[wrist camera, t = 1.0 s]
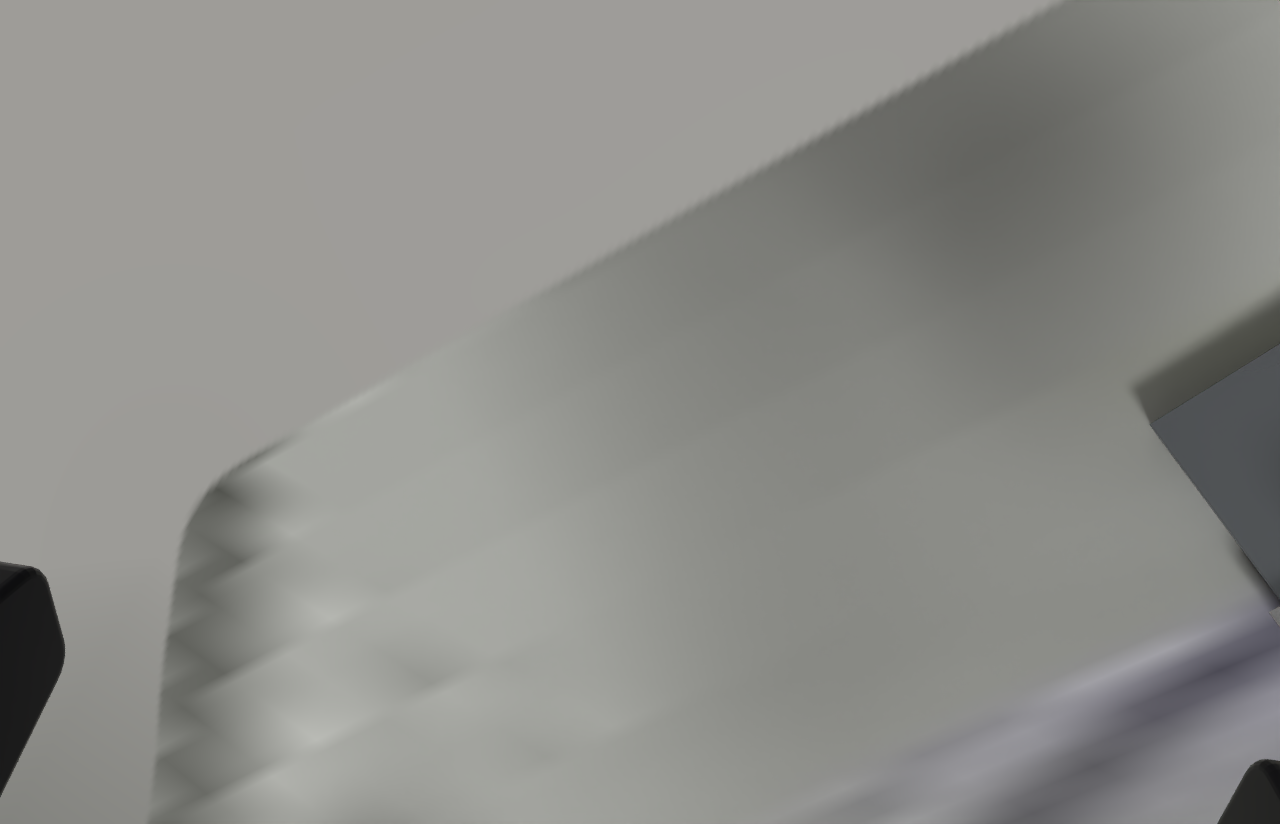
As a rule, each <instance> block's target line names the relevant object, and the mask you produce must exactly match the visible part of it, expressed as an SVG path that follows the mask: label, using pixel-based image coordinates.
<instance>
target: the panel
mask: <svg viewBox="0 0 1280 824" xmlns="http://www.w3.org/2000/svg"><path fill="white" fill-rule="evenodd" d="M1150 426H1151V427H1152V429H1153V430H1154V432H1155V433H1156V434H1157V436H1158V437H1159V438H1160V440H1161V441H1162V442H1163V444H1164V445H1165V447H1166V448H1167V449H1168V451H1169V452H1170V453H1171V455H1172V456H1173V457H1174V459H1175V460H1176V461H1177V463H1178V464H1179V465H1180V467H1181V468H1182V469H1183V471H1184V472H1185V473H1186V475H1187V476H1188V477H1189V479H1190V480H1191V481H1192V483H1193V484H1194V486H1195V487H1196V488H1197V490H1198V491H1199V492H1200V494H1201V495H1202V496H1203V498H1204V499H1205V500H1206V502H1207V503H1208V504H1209V506H1210V507H1211V508H1212V510H1213V511H1214V512H1215V514H1216V515H1217V516H1218V518H1219V519H1220V520H1221V522H1222V523H1223V524H1224V526H1225V527H1226V529H1227V530H1228V531H1229V533H1230V534H1231V535H1232V537H1233V538H1234V539H1235V541H1236V542H1237V543H1238V545H1239V546H1240V547H1241V549H1242V550H1243V551H1244V553H1245V554H1246V555H1247V557H1248V558H1249V559H1250V561H1251V562H1252V563H1253V565H1254V566H1255V567H1256V569H1257V570H1258V572H1259V573H1260V574H1261V576H1262V577H1263V578H1264V580H1265V581H1266V582H1267V584H1268V585H1269V586H1270V588H1271V589H1272V590H1273V592H1274V593H1275V594H1276V596H1277V597H1278V598H1279V600H1280V344H1279V345H1277V346H1276V347H1274V348H1272V349H1271V350H1269V351H1268V352H1266V353H1264V354H1263V355H1261V356H1259V357H1258V358H1256V359H1255V360H1253V361H1251V362H1250V363H1248V364H1247V365H1245V366H1243V367H1242V368H1240V369H1238V370H1237V371H1235V372H1234V373H1232V374H1230V375H1229V376H1227V377H1225V378H1224V379H1222V380H1221V381H1219V382H1217V383H1216V384H1214V385H1213V386H1211V387H1209V388H1208V389H1206V390H1204V391H1203V392H1201V393H1200V394H1198V395H1196V396H1195V397H1193V398H1192V399H1190V400H1188V401H1187V402H1185V403H1183V404H1182V405H1180V406H1179V407H1177V408H1175V409H1174V410H1172V411H1170V412H1169V413H1167V414H1166V415H1164V416H1162V417H1161V418H1159V419H1158V420H1156V421H1154V422H1153V423H1151V424H1150ZM1269 613H1270V615H1271V616H1272V617H1273V619H1274V620H1275V621H1276V623H1277V624H1278V625H1279V627H1280V606H1279V607H1277V608H1275V609H1274V610H1272V611H1270V612H1269Z"/></svg>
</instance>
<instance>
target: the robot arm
mask: <svg viewBox="0 0 1280 824" xmlns="http://www.w3.org/2000/svg"><path fill="white" fill-rule="evenodd" d="M64 658H65V644H64V638H63V635H62V631H61V628H60V624H59V621H58V616H57V613H56V609H55V606H54V602H53V599H52V595H51V591H50V588H49V584H48V582H47V579H46V577H45V576H44V575H43V573H42V572H41V571H40V570H39V569H36V568H34V567H31V566H25V565H18V564H12V563H5V562H0V797H1V795H2V793H3V790H4V788H5V786H6V784H7V782H8V780H9V778H10V776H11V774H12V772H13V770H14V768H15V766H16V764H17V762H18V760H19V758H20V756H21V754H22V752H23V749H24V748H25V746H26V744H27V741H28V739H29V738H30V736H31V734H32V732H33V729H34V727H35V725H36V723H37V721H38V719H39V717H40V715H41V713H42V711H43V709H44V707H45V705H46V703H47V701H48V699H49V697H50V695H51V693H52V691H53V688H54V687H55V685H56V683H57V681H58V678H59V676H60V674H61V671H62V667H63V664H64ZM1217 824H1280V761H1276V760H1269V759H1263V760H1259V761H1257V762H1255V763H1254V764H1252V765H1251V766H1250V767H1249V769H1248V770H1247V771H1246V773H1245V775H1244V776H1243V778H1242V780H1241V782H1240V784H1239V785H1238V787H1237V789H1236V791H1235V793H1234V794H1233V796H1232V798H1231V800H1230V802H1229V804H1228V805H1227V807H1226V809H1225V811H1224V813H1223V814H1222V816H1221V818H1220V820H1219V822H1218V823H1217Z"/></svg>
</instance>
